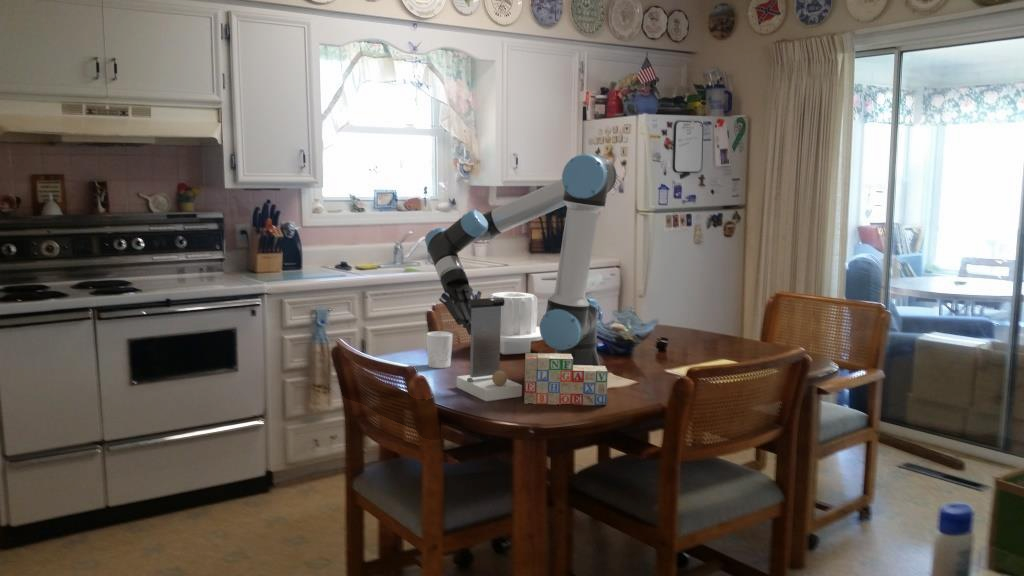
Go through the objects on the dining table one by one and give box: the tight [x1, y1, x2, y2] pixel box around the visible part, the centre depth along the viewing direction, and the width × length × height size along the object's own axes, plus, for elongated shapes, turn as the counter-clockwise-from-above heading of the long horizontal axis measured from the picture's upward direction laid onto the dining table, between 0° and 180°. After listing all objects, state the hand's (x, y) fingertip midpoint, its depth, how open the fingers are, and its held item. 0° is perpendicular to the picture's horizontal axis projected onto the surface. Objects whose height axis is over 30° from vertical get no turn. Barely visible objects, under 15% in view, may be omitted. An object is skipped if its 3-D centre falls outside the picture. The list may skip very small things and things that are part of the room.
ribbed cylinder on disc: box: [487, 291, 544, 355], centre depth 275 cm, size 25×25×19 cm
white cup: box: [426, 330, 453, 369], centre depth 251 cm, size 8×8×10 cm
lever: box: [468, 297, 505, 378], centre depth 223 cm, size 2×10×21 cm, turn 122°
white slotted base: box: [456, 369, 523, 402], centre depth 222 cm, size 16×11×7 cm
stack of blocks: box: [523, 352, 609, 406], centre depth 214 cm, size 21×6×12 cm, turn 89°
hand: (479, 343), depth 225 cm, fingers closed
